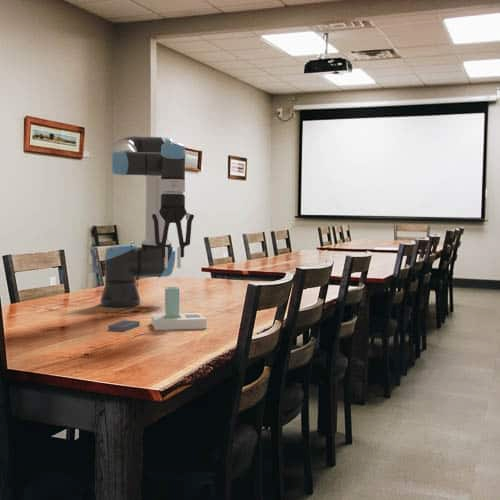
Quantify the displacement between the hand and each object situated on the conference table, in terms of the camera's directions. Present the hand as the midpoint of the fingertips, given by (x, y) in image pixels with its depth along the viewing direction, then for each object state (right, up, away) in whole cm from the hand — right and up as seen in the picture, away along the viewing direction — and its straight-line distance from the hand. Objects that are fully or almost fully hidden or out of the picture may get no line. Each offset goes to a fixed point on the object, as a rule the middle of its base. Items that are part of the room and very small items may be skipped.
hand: (172, 267), depth 205 cm
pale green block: (0, -18, +1) cm, 18 cm away
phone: (-15, -19, -3) cm, 24 cm away
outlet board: (+2, -18, +2) cm, 19 cm away
